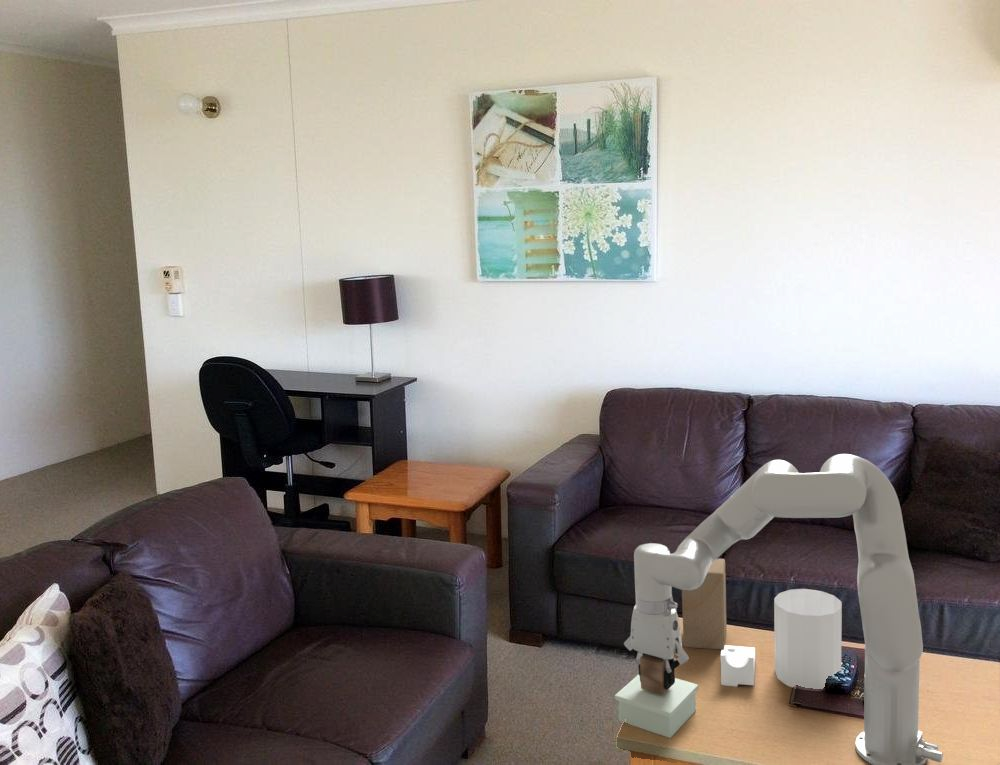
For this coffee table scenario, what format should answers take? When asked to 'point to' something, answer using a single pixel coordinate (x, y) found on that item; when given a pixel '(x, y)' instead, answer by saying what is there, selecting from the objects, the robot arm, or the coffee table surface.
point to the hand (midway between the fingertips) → (656, 682)
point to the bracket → (737, 665)
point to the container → (807, 637)
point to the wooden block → (706, 610)
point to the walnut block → (652, 674)
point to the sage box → (657, 706)
